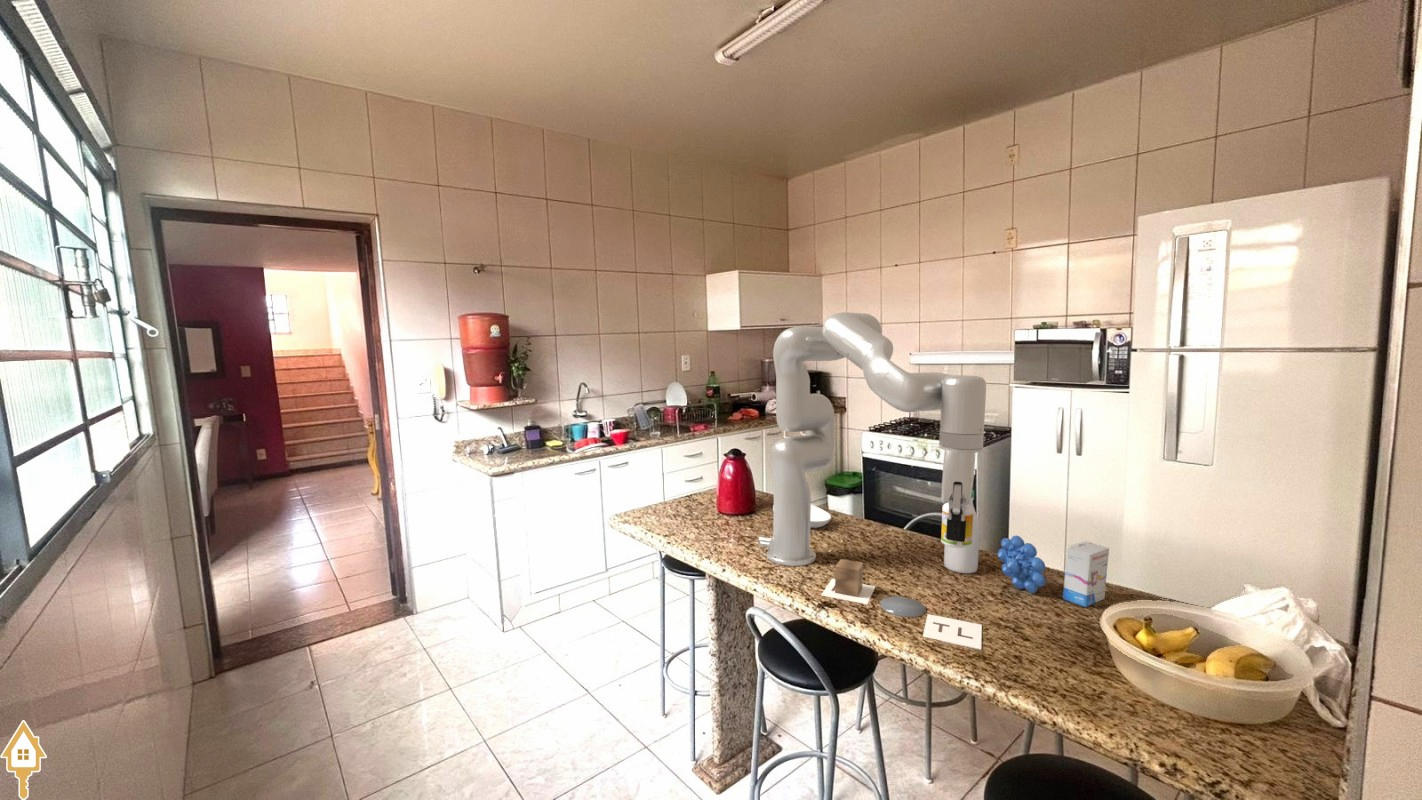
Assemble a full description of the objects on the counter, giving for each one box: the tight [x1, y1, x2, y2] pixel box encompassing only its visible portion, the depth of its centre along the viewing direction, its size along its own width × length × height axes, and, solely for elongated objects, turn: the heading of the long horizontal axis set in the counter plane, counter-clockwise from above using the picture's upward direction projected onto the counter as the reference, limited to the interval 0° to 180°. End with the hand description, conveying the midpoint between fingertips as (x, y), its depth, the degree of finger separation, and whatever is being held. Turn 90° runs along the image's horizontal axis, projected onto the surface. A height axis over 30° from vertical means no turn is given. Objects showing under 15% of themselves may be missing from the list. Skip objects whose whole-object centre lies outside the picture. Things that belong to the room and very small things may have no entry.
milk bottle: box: [943, 489, 980, 574], centre depth 139 cm, size 8×8×20 cm
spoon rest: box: [772, 503, 832, 529], centre depth 179 cm, size 24×12×7 cm, turn 29°
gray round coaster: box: [880, 595, 927, 618], centre depth 119 cm, size 9×9×1 cm
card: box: [922, 613, 983, 651], centre depth 109 cm, size 10×10×1 cm
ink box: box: [1062, 540, 1110, 608], centre depth 122 cm, size 9×5×12 cm, turn 122°
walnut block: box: [834, 558, 864, 597], centre depth 126 cm, size 5×5×6 cm
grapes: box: [996, 535, 1047, 594], centre depth 127 cm, size 12×7×12 cm, turn 25°
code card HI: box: [820, 578, 876, 605], centre depth 126 cm, size 10×10×1 cm
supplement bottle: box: [940, 496, 973, 548], centre depth 107 cm, size 5×5×10 cm
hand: (956, 534), depth 107 cm, fingers closed on supplement bottle, 5 cm apart
